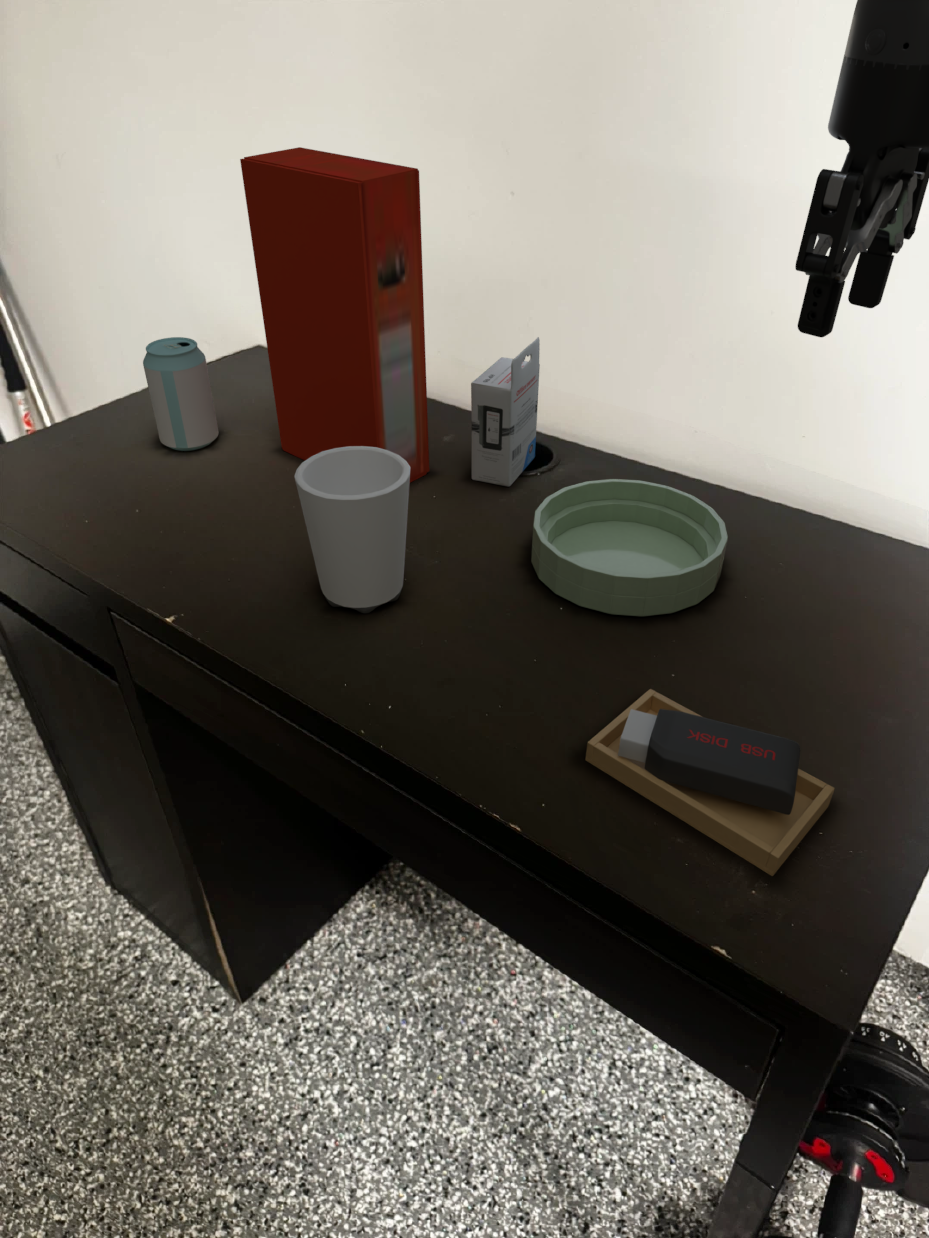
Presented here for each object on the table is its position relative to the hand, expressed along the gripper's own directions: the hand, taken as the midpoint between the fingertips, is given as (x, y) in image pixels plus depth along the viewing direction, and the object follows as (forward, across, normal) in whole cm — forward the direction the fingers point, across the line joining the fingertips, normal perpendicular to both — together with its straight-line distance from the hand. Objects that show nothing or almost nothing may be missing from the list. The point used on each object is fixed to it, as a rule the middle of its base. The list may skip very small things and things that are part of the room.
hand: (839, 319), depth 64 cm
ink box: (+28, +7, +36) cm, 46 cm away
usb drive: (+25, -21, -6) cm, 34 cm away
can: (+28, -13, +70) cm, 76 cm away
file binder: (+28, -4, +50) cm, 58 cm away
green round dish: (+27, 0, +14) cm, 31 cm away
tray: (+27, -21, -6) cm, 35 cm away
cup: (+28, -21, +30) cm, 46 cm away
